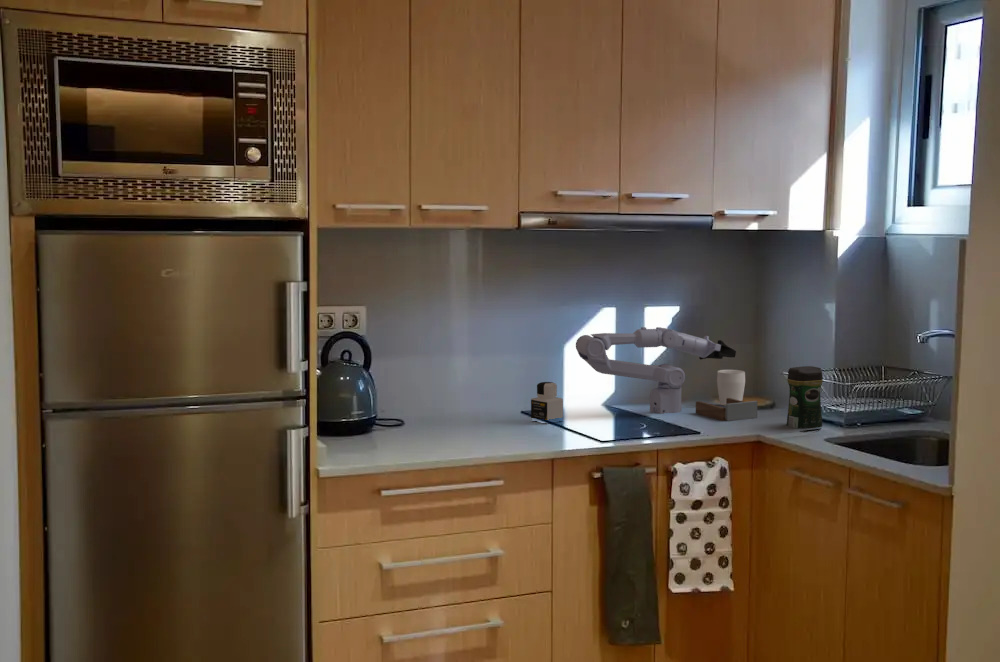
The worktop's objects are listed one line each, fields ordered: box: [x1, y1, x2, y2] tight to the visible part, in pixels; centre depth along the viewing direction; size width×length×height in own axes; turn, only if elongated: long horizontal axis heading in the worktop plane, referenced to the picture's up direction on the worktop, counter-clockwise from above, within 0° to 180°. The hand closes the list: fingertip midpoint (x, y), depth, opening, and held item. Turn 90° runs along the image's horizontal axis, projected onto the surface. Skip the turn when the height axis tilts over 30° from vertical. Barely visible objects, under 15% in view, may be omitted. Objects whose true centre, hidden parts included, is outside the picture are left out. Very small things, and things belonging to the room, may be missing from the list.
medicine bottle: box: [530, 381, 564, 420], centre depth 300 cm, size 7×7×12 cm
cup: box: [716, 369, 746, 407], centre depth 319 cm, size 9×9×12 cm
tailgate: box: [724, 400, 758, 422], centre depth 294 cm, size 11×1×5 cm, turn 115°
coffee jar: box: [786, 365, 824, 433], centre depth 284 cm, size 10×8×19 cm
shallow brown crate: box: [695, 398, 745, 422], centre depth 301 cm, size 13×13×5 cm
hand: (728, 355), depth 312 cm, fingers open, 7 cm apart
